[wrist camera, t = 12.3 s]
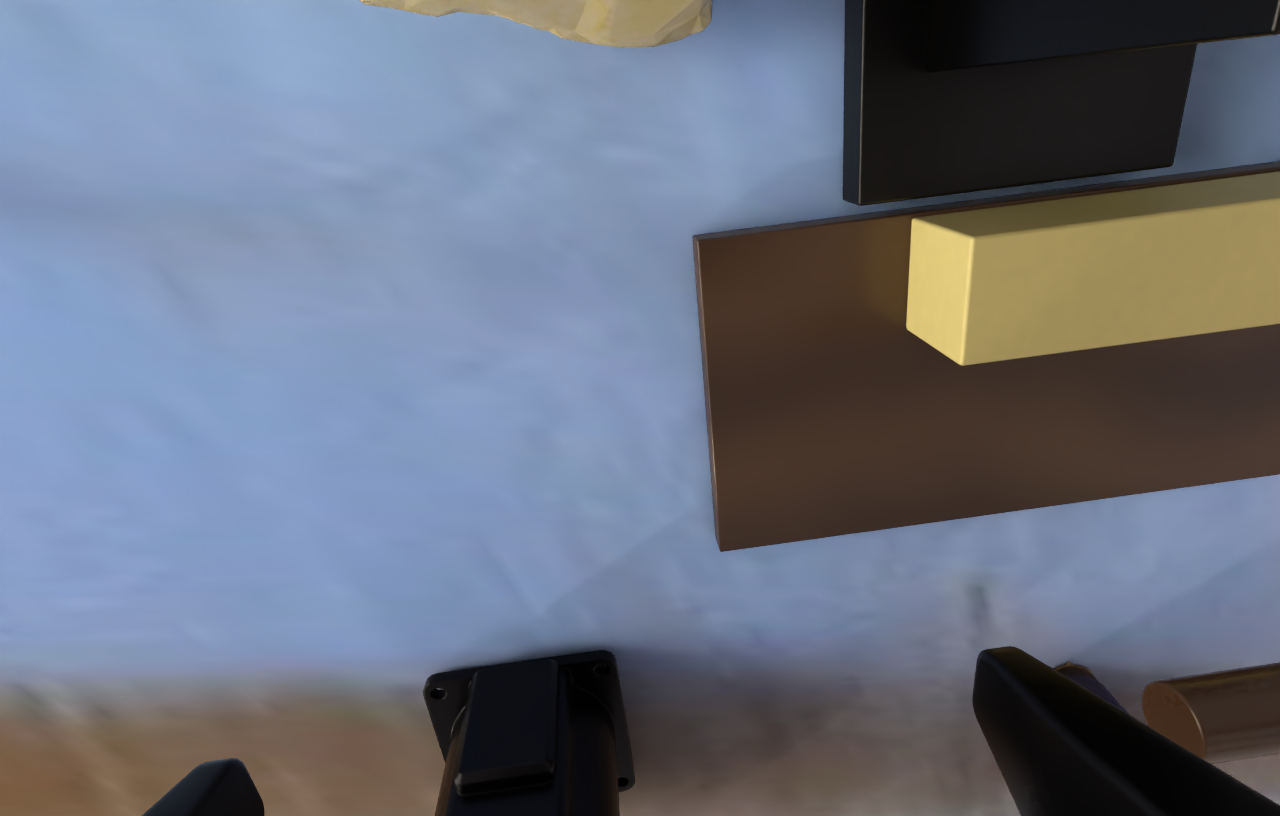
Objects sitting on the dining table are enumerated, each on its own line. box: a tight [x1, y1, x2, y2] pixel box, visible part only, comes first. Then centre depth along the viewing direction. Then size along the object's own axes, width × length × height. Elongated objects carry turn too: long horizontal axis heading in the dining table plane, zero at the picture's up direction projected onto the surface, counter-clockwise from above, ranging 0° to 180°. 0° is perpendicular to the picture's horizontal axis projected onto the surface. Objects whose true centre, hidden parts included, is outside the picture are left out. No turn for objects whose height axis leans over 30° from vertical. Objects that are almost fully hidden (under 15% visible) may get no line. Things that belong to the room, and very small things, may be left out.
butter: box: [906, 171, 1280, 366], centre depth 17 cm, size 3×10×3 cm, turn 96°
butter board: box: [693, 161, 1280, 552], centre depth 20 cm, size 10×18×1 cm, turn 96°
